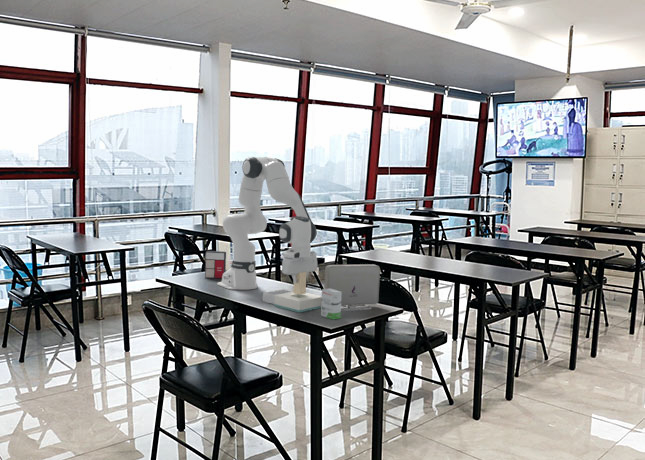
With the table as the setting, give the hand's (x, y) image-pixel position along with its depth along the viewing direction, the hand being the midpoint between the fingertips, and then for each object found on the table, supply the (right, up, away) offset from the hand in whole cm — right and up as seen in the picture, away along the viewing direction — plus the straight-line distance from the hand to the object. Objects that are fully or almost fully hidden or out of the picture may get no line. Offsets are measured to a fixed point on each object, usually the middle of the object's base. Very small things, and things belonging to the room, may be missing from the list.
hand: (299, 282), depth 272 cm
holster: (-10, -10, +13) cm, 19 cm away
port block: (0, -11, +1) cm, 11 cm away
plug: (0, -5, +1) cm, 5 cm away
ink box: (+14, -14, -16) cm, 25 cm away
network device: (+24, -12, +3) cm, 27 cm away
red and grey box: (-50, -3, +64) cm, 81 cm away
